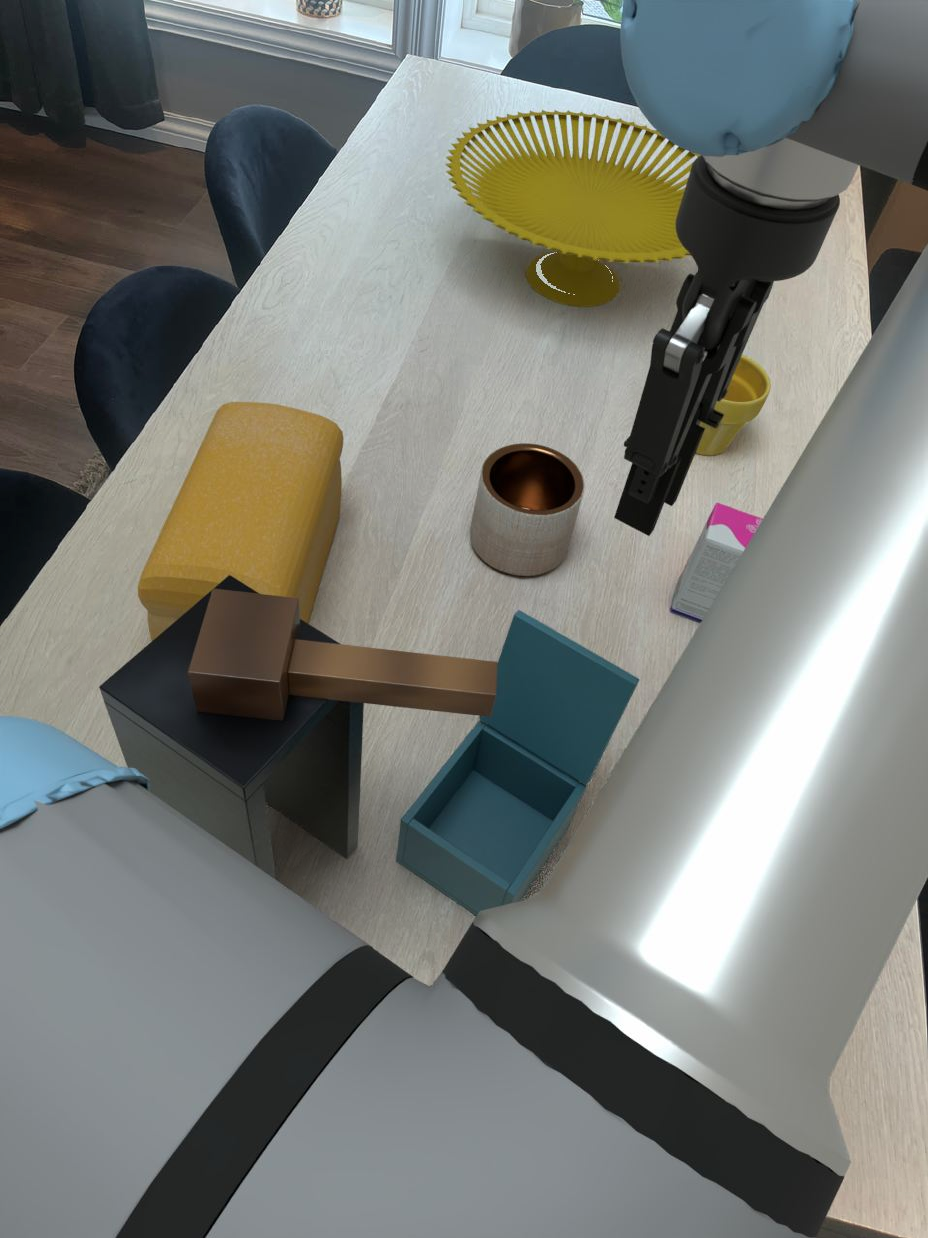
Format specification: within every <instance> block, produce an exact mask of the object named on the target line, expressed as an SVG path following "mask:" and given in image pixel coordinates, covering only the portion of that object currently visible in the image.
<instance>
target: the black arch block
mask: <svg viewBox="0 0 928 1238" xmlns="http://www.w3.org/2000/svg"><path fill="white" fill-rule="evenodd" d="M213 589H222V590H231V591H240V592H248V593H257V594H260V593H258V592H256V591H255V590H253V589H252V588H250V587H248V586H247V585H245V584H244V583H242V582H240V581H239V580H237V579H236V578H234V577H232V576H231V575H229V576H227V577H226V578H225V579H224V580H223V581H222V582H220V583H219V584H218V585H217V586H216V587H215V588H213ZM213 589H212V590H213ZM212 590H211V591H210V592H209V593H208V594H206V595H205V596H204V597H203V598H202V599H201V600H199V601H198V602H197V603H196V604H195V605H194V606H192V607H191V608H190V609H189V610H188V611H187V612H185V613H184V614H183V615H182V616H181V617H180V618H178V619H177V620H176V621H175V622H174V623H173V624H171V625H170V626H169V627H168V628H167V629H166V630H164V631H163V632H162V633H161V634H160V635H159V636H157V637H156V638H155V639H154V640H153V641H151V642H149V643H148V644H147V645H145V646H144V647H143V648H142V649H141V650H140V651H139V652H137V653H136V654H135V655H134V656H133V657H132V658H131V659H129V660H128V661H127V662H126V663H125V664H123V665H122V666H121V667H120V668H118V670H116V671H115V672H114V673H113V674H111V676H109V678H107V679H106V680H105V681H104V682H103V683H101V684H100V685H99V687H98V688H99V691H100V694H101V697H102V700H103V702H104V705H105V708H106V712H107V714H108V717H109V719H110V722H111V725H112V728H113V730H114V734H115V736H116V739H117V741H118V744H119V747H120V750H121V752H122V755H123V758H124V761H125V764H126V767H129V768H135V769H137V770H138V771H139V772H141V773H142V774H143V775H144V776H145V777H147V778H148V779H149V784H150V792H151V793H152V794H153V795H155V796H156V797H158V798H159V799H161V800H162V801H163V802H165V803H166V804H168V805H169V806H171V807H172V808H173V809H175V810H176V811H178V812H179V813H181V814H182V815H183V816H185V817H186V818H188V819H189V820H191V821H192V822H193V823H195V824H196V825H198V826H199V827H201V828H202V829H203V830H205V831H206V832H208V833H209V834H211V835H212V836H214V837H215V838H216V839H218V840H219V841H221V842H222V843H224V844H225V845H226V846H228V847H229V848H231V849H232V850H234V851H235V852H237V853H238V854H239V855H241V856H242V857H244V858H245V859H247V860H248V861H249V862H251V863H252V864H254V865H255V866H257V867H258V868H260V869H261V870H262V871H264V872H265V873H267V874H268V875H270V876H271V877H272V878H274V879H275V880H277V877H276V872H275V870H276V869H275V862H274V853H273V847H272V839H271V832H270V831H271V830H270V823H269V817H268V807H267V805H268V806H270V807H271V808H273V809H274V810H276V811H277V812H279V813H280V814H282V815H283V816H284V817H286V818H287V819H289V820H290V821H291V822H293V823H294V824H296V825H297V826H298V827H300V828H302V829H303V830H305V831H306V832H307V833H309V834H310V835H311V836H313V837H314V838H316V839H317V840H318V841H320V842H322V843H323V844H324V845H326V846H327V847H329V848H330V849H331V850H333V851H334V852H336V853H337V854H338V855H340V856H342V858H344V859H346V860H348V859H349V858H350V856H352V854H353V853H354V852H355V850H356V849H357V848H358V847H359V826H360V807H361V806H360V805H361V804H360V802H361V779H362V758H363V755H362V753H363V736H364V735H363V733H364V732H363V731H364V712H365V711H364V709H365V703H358V702H349V701H340V700H331V699H322V698H312V697H303V696H294V695H289V697H288V701H287V706H286V711H285V715H284V720H283V721H280V720H270V719H261V718H252V717H243V716H233V715H224V714H215V713H206V712H197V711H196V707H195V702H194V697H193V693H192V688H191V684H190V679H189V675H188V670H189V667H190V663H191V660H192V657H193V653H194V650H195V647H196V643H197V640H198V637H199V633H200V630H201V627H202V623H203V620H204V617H205V613H206V610H207V607H208V603H209V600H210V597H211V593H212ZM300 634H301V640H306V641H315V642H324V643H333V644H341V643H340V642H338V641H336V640H335V639H333V638H332V637H330V636H328V635H327V634H325V633H324V632H322V631H320V630H319V629H318V628H317V627H314V626H312V625H311V624H309V622H308V623H306V622H304V621H303V620H301V619H300Z"/></svg>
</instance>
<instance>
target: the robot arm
mask: <svg viewBox="0 0 928 1238" xmlns="http://www.w3.org/2000/svg"><path fill="white" fill-rule="evenodd" d="M621 11H622V12H621V19H620V31H619V32H620V33H619V37H620V38H619V39H620V40H619V41H620V53H621V60H622V61H621V62H622V66H623V71H624V73H625V74H624V75H625V78H626V82H627V85H628V88H629V91H630V93H631V94H632V97H633V98H634V101H635V103H636V105H637V107H638V109H639V111H640V112H641V113H642V115H643V116H644V118H645V119H646V120H647V121H648V123H649V124H650V125H651V126H652V127H653V128H654V130H657V131H658V132H659V133H660V134H661V135H662V136H663V137H665V138H666V139H665V140H668V141H671V142H672V143H673V144H675V145H674V146H677V147H681V148H683V149H685V151H687V152H689V151H690V152H693V153H696V154H699V155H700V156H699V157H696V158H695V159H694V160H693V161H692V163H693V164H692V168H691V171H690V172H689V173H688V177H687V178H688V181H687V184H686V185H685V186H684V188H685V191H684V194H683V197H682V201H681V204H680V207H679V211H678V214H677V217H676V223H675V228H676V233H677V236H678V239H679V241H680V242H681V244H682V245H683V247H684V248H685V249H686V250H687V251H688V252H689V253H690V254H691V255H690V256H691V257H692V259H693V260H694V262H695V264H696V267H697V271H696V273H694V274H693V273H688V274H687V276H686V277H685V279H684V281H683V283H682V284H681V287H680V290H679V293H678V295H677V298H676V302H675V305H676V309H677V310H676V314H675V316H674V319H673V321H672V325H671V327H670V330H667V329H665V328H661V329H659V330H658V332H657V333H656V334H655V336H654V337H653V339H652V346H651V353H650V364H649V368H648V372H647V375H646V379H645V382H644V386H643V389H642V392H641V396H640V398H639V399H640V400H639V402H638V403H639V404H638V407H637V410H636V414H635V417H634V420H633V424H632V428H631V431H630V435H629V436H628V438H626V439H625V440H624V442H623V447H625V450H624V455H623V459H624V460H626V461H627V462H629V463H631V466H630V469H629V471H628V474H627V478H626V481H625V484H624V487H623V490H622V492H621V495H620V499H619V502H618V504H617V507H616V510H615V513H614V519H615V520H617V521H619V522H621V523H623V524H625V525H627V526H629V527H630V528H632V529H634V530H636V531H637V532H640V533H642V534H644V535H646V536H647V537H650V536H651V534H652V533H653V532H654V530H655V529H656V525H657V523H658V520H659V518H660V515H661V512H662V510H663V507H664V506H665V505H664V504H667V505H668V506H670V507H673V505H674V504H675V503H676V502H677V500H678V497H679V495H680V493H681V490H682V487H683V485H684V482H685V480H686V478H687V475H688V472H689V470H690V467H691V466H692V463H693V460H694V457H695V455H696V454H697V453H696V450H697V448H698V445H699V443H700V440H701V438H702V435H703V433H704V430H705V428H703V427H701V426H699V424H700V422H703V423H705V424H707V425H709V426H711V427H713V428H715V429H716V428H717V427H718V426H719V424H720V422H721V420H722V418H723V416H724V414H722V413H720V412H718V411H716V410H714V408H715V405H716V402H717V401H718V402H720V401H721V400H722V399H723V398H724V397H725V396H726V394H727V392H728V391H727V388H728V386H729V384H730V381H731V379H732V377H733V374H734V372H735V370H736V367H737V365H738V363H739V360H740V358H741V356H742V355H743V353H744V351H745V349H746V346H747V344H748V342H749V339H750V337H751V335H752V333H753V330H754V327H755V325H756V323H757V321H758V319H759V315H760V314H761V311H762V309H763V306H764V305H765V303H766V302H767V300H768V299H769V297H770V294H771V291H772V289H773V287H774V282H781V281H786V280H790V279H794V278H796V277H798V276H801V275H802V274H803V273H805V272H806V271H808V270H809V269H810V268H812V266H813V265H814V263H815V262H816V260H817V258H818V256H819V253H820V252H821V249H822V247H823V245H824V242H825V240H826V237H827V235H828V233H829V230H830V228H831V227H832V223H833V221H834V219H835V218H836V215H837V213H838V210H839V208H840V205H841V198H840V194H841V193H843V192H845V191H846V190H848V188H849V186H851V184H852V182H853V179H854V177H855V175H856V172H857V170H858V168H859V166H860V167H862V168H866V169H868V170H870V171H874V172H876V173H879V174H882V175H884V176H887V177H890V178H893V179H895V180H897V181H900V182H904V183H906V184H909V185H911V186H913V187H917V188H920V189H922V190H924V191H927V192H928V0H623V1H622V10H621ZM762 518H763V520H762V521H761V523H760V525H759V526H758V528H757V530H756V531H755V533H754V535H753V536H752V538H751V540H750V541H749V543H748V545H747V546H746V548H745V550H744V551H743V553H742V555H741V556H740V558H739V560H738V562H737V563H736V565H735V567H734V568H733V570H732V572H731V573H730V575H729V577H728V578H727V580H726V582H725V583H724V585H723V587H722V588H721V590H720V592H719V593H718V595H717V597H716V598H715V600H714V602H713V603H712V605H711V607H710V608H709V610H708V612H707V613H706V615H705V617H704V618H703V620H702V622H701V623H700V622H699V625H698V627H697V628H696V630H695V632H694V633H693V635H692V637H691V638H690V640H689V642H688V643H687V645H686V647H685V648H684V650H683V652H682V654H681V655H680V656H679V659H678V660H677V662H676V664H674V667H673V669H672V670H671V672H670V673H669V675H668V677H667V678H666V680H665V682H664V684H663V685H662V687H661V688H660V690H659V692H658V694H657V695H656V697H655V699H654V701H653V702H652V704H651V705H650V707H649V708H648V711H647V712H646V714H645V715H644V717H643V718H642V720H641V721H640V723H639V725H638V727H637V729H636V731H635V732H634V734H633V735H632V737H631V738H630V740H629V742H628V743H627V745H626V747H625V749H624V750H623V752H622V754H621V755H620V757H619V759H618V761H617V762H616V764H615V765H614V767H613V769H612V771H611V772H610V774H609V776H608V777H607V779H606V781H605V782H604V784H603V786H602V787H601V789H600V790H599V792H598V794H597V796H596V797H595V799H594V801H593V802H592V804H591V805H590V808H589V809H588V811H587V813H586V814H585V815H584V817H583V819H582V820H581V822H580V824H579V826H578V828H577V829H576V831H575V832H574V834H573V835H572V837H571V839H570V841H569V843H568V844H567V846H566V848H565V849H564V850H563V853H562V854H561V856H560V857H559V859H558V861H557V862H556V864H555V866H554V868H553V869H552V871H551V873H550V874H549V876H548V877H547V879H546V880H545V883H544V884H543V886H542V888H541V889H540V890H539V891H538V892H536V893H534V894H533V895H532V896H530V897H528V898H527V899H524V900H523V899H522V900H521V901H519V902H515V903H511V904H507V905H503V906H499V907H495V908H490V909H486V910H482V911H480V912H479V913H478V915H477V916H476V915H475V917H474V919H473V921H472V922H471V924H470V925H469V927H468V928H467V930H466V932H465V933H464V935H463V937H462V938H461V940H460V942H459V943H458V945H457V946H456V948H455V950H454V951H453V953H452V954H451V956H450V958H449V960H448V961H447V963H446V965H445V966H444V967H443V969H442V971H441V972H440V973H439V975H438V976H437V977H436V979H434V982H433V983H431V985H427V984H426V983H424V982H422V981H420V980H418V979H417V978H415V977H414V976H413V975H412V974H410V973H408V971H406V970H404V969H403V968H402V967H400V966H399V965H397V964H396V963H395V962H393V961H391V960H390V959H389V958H387V957H386V956H385V955H383V954H382V953H381V952H379V951H378V950H376V949H375V948H374V947H373V946H372V945H370V944H369V943H367V942H366V941H364V940H363V939H362V938H360V937H359V936H357V935H356V934H354V933H353V932H352V931H350V930H348V929H347V928H346V927H344V926H343V925H342V924H340V923H339V922H337V921H336V920H334V919H333V918H331V917H330V916H329V915H327V914H326V913H324V912H323V911H321V910H320V909H318V908H317V907H316V906H314V905H313V904H311V903H310V902H308V901H307V900H306V899H304V898H303V897H301V896H300V895H298V894H297V893H296V892H294V891H293V890H291V889H290V888H288V887H287V886H285V885H284V884H282V883H281V882H280V881H278V880H277V879H276V880H275V879H274V878H272V877H271V876H270V875H268V874H267V873H265V872H264V871H262V870H261V869H260V868H258V867H257V866H255V865H254V864H252V863H251V862H249V861H248V860H247V859H245V858H244V857H242V856H241V855H239V854H238V853H237V852H235V851H234V850H232V849H231V848H229V847H228V846H226V845H225V844H224V843H222V842H221V841H219V840H218V839H216V838H215V837H214V836H212V835H211V834H209V833H208V832H206V831H205V830H203V829H202V828H201V827H199V826H198V825H196V824H195V823H193V822H192V821H191V820H189V819H188V818H186V817H185V816H183V815H182V814H181V813H179V812H178V811H176V810H175V809H173V808H172V807H171V806H169V805H168V804H166V803H165V802H163V801H162V800H161V799H159V798H158V797H156V796H155V795H153V794H152V793H151V792H150V784H149V779H148V778H147V777H145V776H144V775H143V774H142V773H141V772H139V771H138V770H137V769H135V768H129V767H127V766H118V765H117V764H115V763H113V762H111V761H110V760H109V759H107V758H105V757H104V756H103V755H101V754H99V753H98V752H96V751H94V750H93V749H91V748H90V747H88V746H87V745H85V744H83V743H82V742H80V741H78V740H77V739H75V738H74V737H73V736H71V735H69V734H68V733H66V732H64V731H63V730H61V729H60V728H57V727H56V726H53V725H51V724H48V723H46V722H43V721H40V720H37V719H32V718H27V717H21V716H13V715H12V716H11V715H0V1238H817V1237H818V1234H819V1232H820V1230H821V1229H822V1226H823V1224H824V1222H825V1220H826V1218H827V1216H828V1214H829V1211H830V1209H831V1207H832V1205H833V1203H834V1201H835V1199H836V1197H837V1194H838V1192H839V1190H840V1188H841V1186H842V1184H843V1182H844V1179H845V1176H846V1174H847V1172H848V1170H849V1168H850V1166H851V1164H852V1160H851V1157H850V1154H849V1150H848V1147H847V1144H846V1140H845V1137H844V1134H843V1131H842V1128H841V1125H840V1121H839V1119H838V1114H837V1112H836V1109H835V1105H834V1102H833V1099H832V1095H831V1078H832V1076H833V1073H834V1071H835V1069H836V1067H837V1065H838V1063H839V1062H840V1059H841V1057H842V1055H843V1053H844V1051H845V1049H846V1047H847V1044H848V1042H849V1040H850V1038H851V1036H852V1034H853V1032H854V1031H855V1029H856V1026H857V1024H858V1022H859V1020H860V1018H861V1017H862V1016H861V1015H862V1014H863V1012H864V1010H865V1007H866V1006H867V1003H868V1002H869V999H870V998H871V995H872V993H873V991H874V990H875V987H876V985H877V983H878V981H879V979H880V976H881V975H882V973H883V970H884V968H885V966H886V965H887V962H888V960H889V959H890V956H891V954H892V952H893V950H894V948H895V946H896V944H897V942H898V939H899V938H900V935H901V933H902V931H903V929H904V927H905V925H906V923H907V921H908V919H909V917H910V915H911V913H912V911H913V909H914V906H915V904H916V902H917V901H918V899H919V896H920V894H921V892H922V890H923V888H924V886H925V884H926V882H927V880H928V243H926V245H925V247H924V249H923V250H922V252H921V254H920V256H919V257H918V259H917V261H916V262H915V264H914V265H913V267H912V269H911V271H909V274H908V275H907V277H906V279H905V281H904V282H903V284H902V286H901V288H900V289H899V291H898V293H897V294H896V296H895V297H894V299H893V301H892V302H891V304H890V306H889V307H888V309H887V311H886V313H885V314H884V316H883V317H882V319H881V321H880V322H879V324H878V326H877V327H876V329H875V331H874V332H873V333H872V336H871V337H870V339H869V341H868V342H867V344H866V346H865V348H864V349H863V351H862V352H861V354H860V356H859V357H858V359H857V361H856V363H855V364H854V366H853V368H852V369H851V371H850V372H849V374H848V375H847V378H846V380H845V381H844V382H843V384H842V386H841V388H840V389H839V391H838V392H837V394H836V396H835V398H834V399H833V401H832V403H831V404H830V406H829V408H827V411H826V413H825V415H824V416H823V417H822V419H821V421H820V423H819V424H818V426H817V427H816V429H815V431H814V433H813V434H812V436H811V438H810V439H809V441H808V443H807V444H806V446H805V448H804V449H803V451H802V453H801V454H800V456H799V457H798V459H797V461H796V463H795V465H794V466H793V468H792V469H791V471H790V473H789V474H788V476H787V478H786V480H785V481H784V483H783V484H782V486H781V488H780V490H779V491H778V493H777V494H776V496H775V498H774V500H773V501H772V503H771V505H770V507H769V508H768V510H767V512H766V513H765V515H764V516H763V517H762Z"/></svg>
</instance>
